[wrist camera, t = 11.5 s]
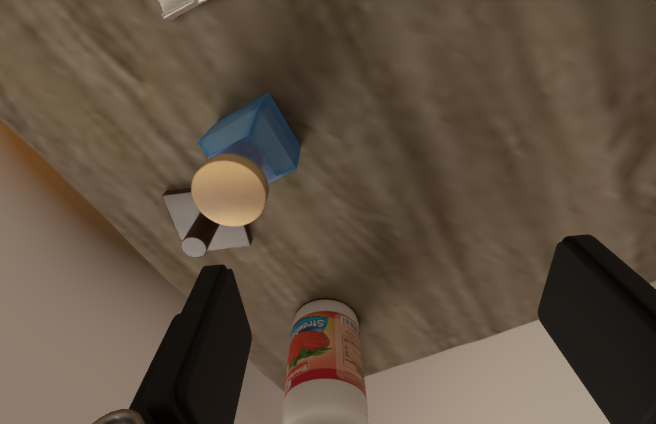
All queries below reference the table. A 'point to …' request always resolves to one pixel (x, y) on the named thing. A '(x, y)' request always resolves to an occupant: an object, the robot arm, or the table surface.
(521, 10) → the table surface
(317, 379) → the white yogurt drink bottle
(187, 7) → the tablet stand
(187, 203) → the stand
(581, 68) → the table surface
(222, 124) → the perfume bottle
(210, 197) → the chip
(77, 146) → the table surface
